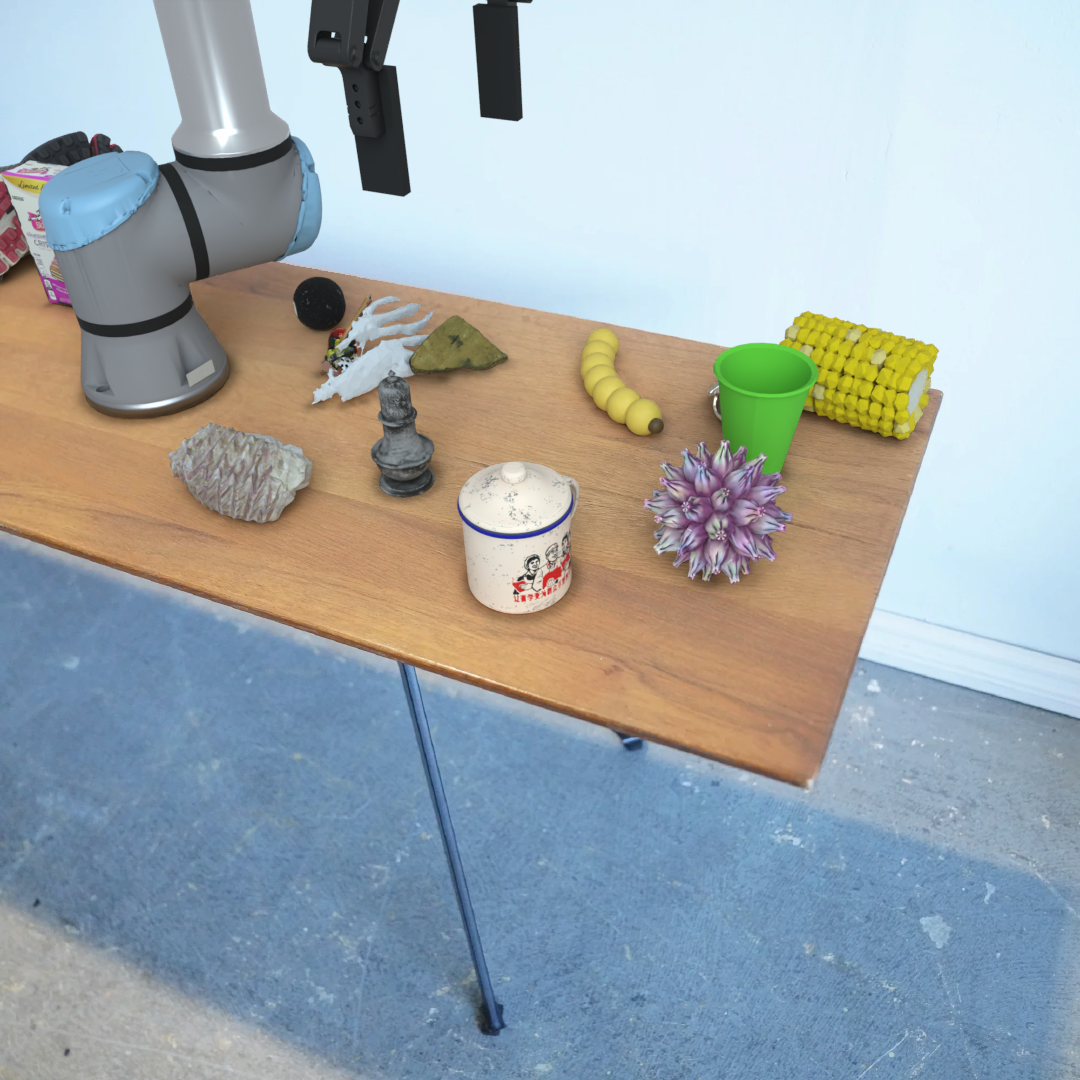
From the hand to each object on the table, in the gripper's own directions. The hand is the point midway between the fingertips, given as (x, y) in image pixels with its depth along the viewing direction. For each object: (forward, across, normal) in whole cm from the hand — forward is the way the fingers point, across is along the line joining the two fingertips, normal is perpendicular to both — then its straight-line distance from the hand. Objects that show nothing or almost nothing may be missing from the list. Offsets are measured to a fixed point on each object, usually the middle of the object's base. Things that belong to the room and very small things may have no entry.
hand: (448, 152), depth 61 cm
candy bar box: (+35, +26, +70) cm, 83 cm away
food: (+32, +33, -20) cm, 50 cm away
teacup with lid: (+36, +4, -2) cm, 36 cm away
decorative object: (+36, +28, +25) cm, 52 cm away
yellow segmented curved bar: (+36, +32, +3) cm, 48 cm away
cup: (+36, +25, -14) cm, 46 cm away
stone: (+36, +30, +20) cm, 51 cm away
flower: (+36, +11, -16) cm, 41 cm away
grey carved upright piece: (+36, +11, +15) cm, 40 cm away
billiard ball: (+36, +33, +40) cm, 63 cm away
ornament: (+35, +35, -11) cm, 51 cm away
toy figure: (+31, +24, +30) cm, 49 cm away
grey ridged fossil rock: (+36, +3, +27) cm, 45 cm away
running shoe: (+26, +30, +85) cm, 94 cm away
